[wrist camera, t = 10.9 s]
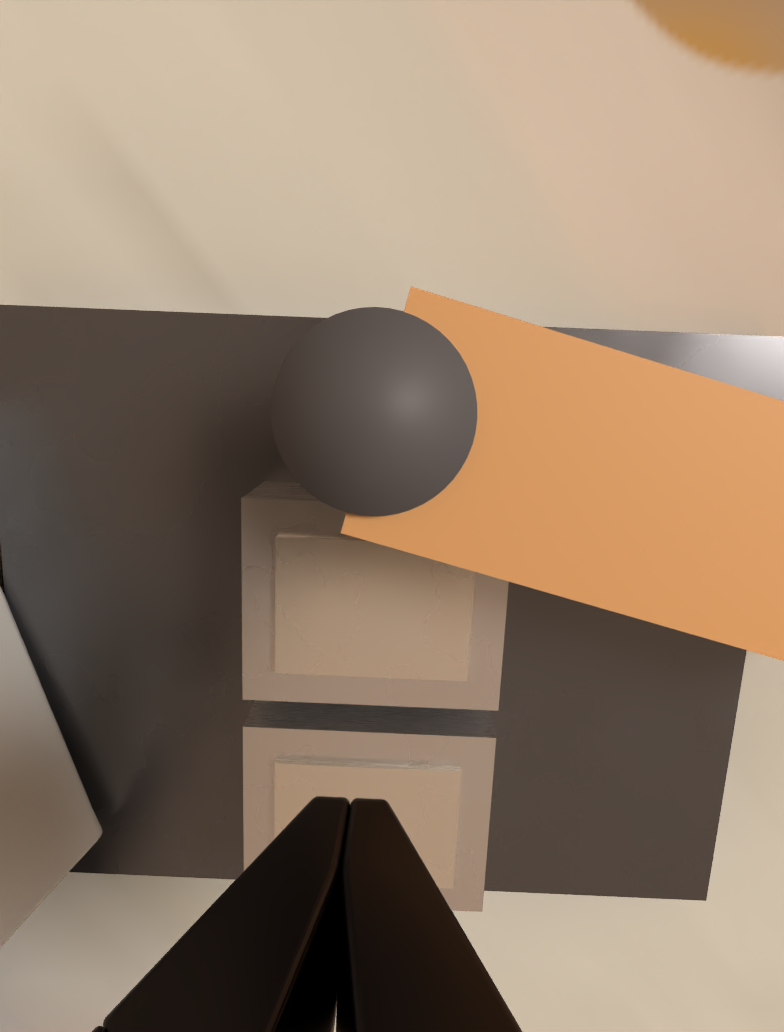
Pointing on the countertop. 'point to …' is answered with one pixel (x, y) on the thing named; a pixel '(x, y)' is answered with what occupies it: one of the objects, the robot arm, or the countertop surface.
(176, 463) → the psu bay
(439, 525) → the swing arm
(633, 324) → the countertop surface
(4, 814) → the supplement box
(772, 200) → the countertop surface
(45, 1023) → the countertop surface
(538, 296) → the countertop surface
